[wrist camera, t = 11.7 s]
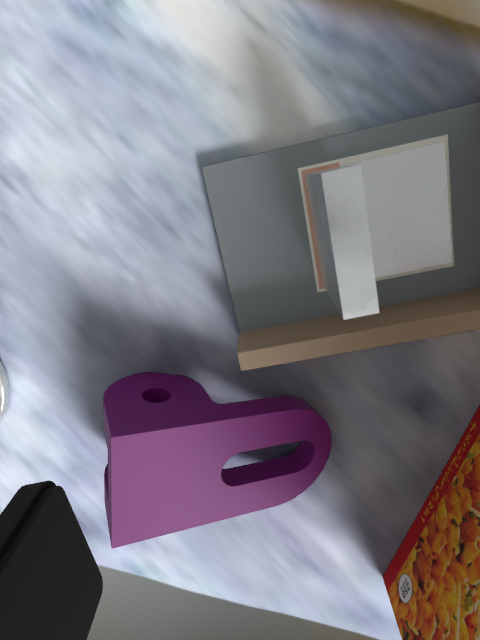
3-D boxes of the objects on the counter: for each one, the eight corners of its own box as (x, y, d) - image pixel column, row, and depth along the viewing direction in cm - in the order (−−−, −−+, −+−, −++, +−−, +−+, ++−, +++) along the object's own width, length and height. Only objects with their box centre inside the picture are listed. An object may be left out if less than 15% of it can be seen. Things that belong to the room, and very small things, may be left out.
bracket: (322, 285, 31) (343, 320, 23) (304, 174, 28) (321, 173, 20) (446, 259, 30) (510, 287, 22) (438, 143, 27) (507, 129, 20)
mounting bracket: (289, 358, 40) (98, 376, 33) (340, 402, 33) (111, 436, 26) (276, 439, 44) (99, 471, 36) (321, 494, 36) (111, 548, 29)
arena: (243, 344, 34) (241, 371, 29) (203, 167, 29) (192, 165, 25) (496, 297, 31) (538, 318, 27) (493, 99, 27) (543, 82, 22)
